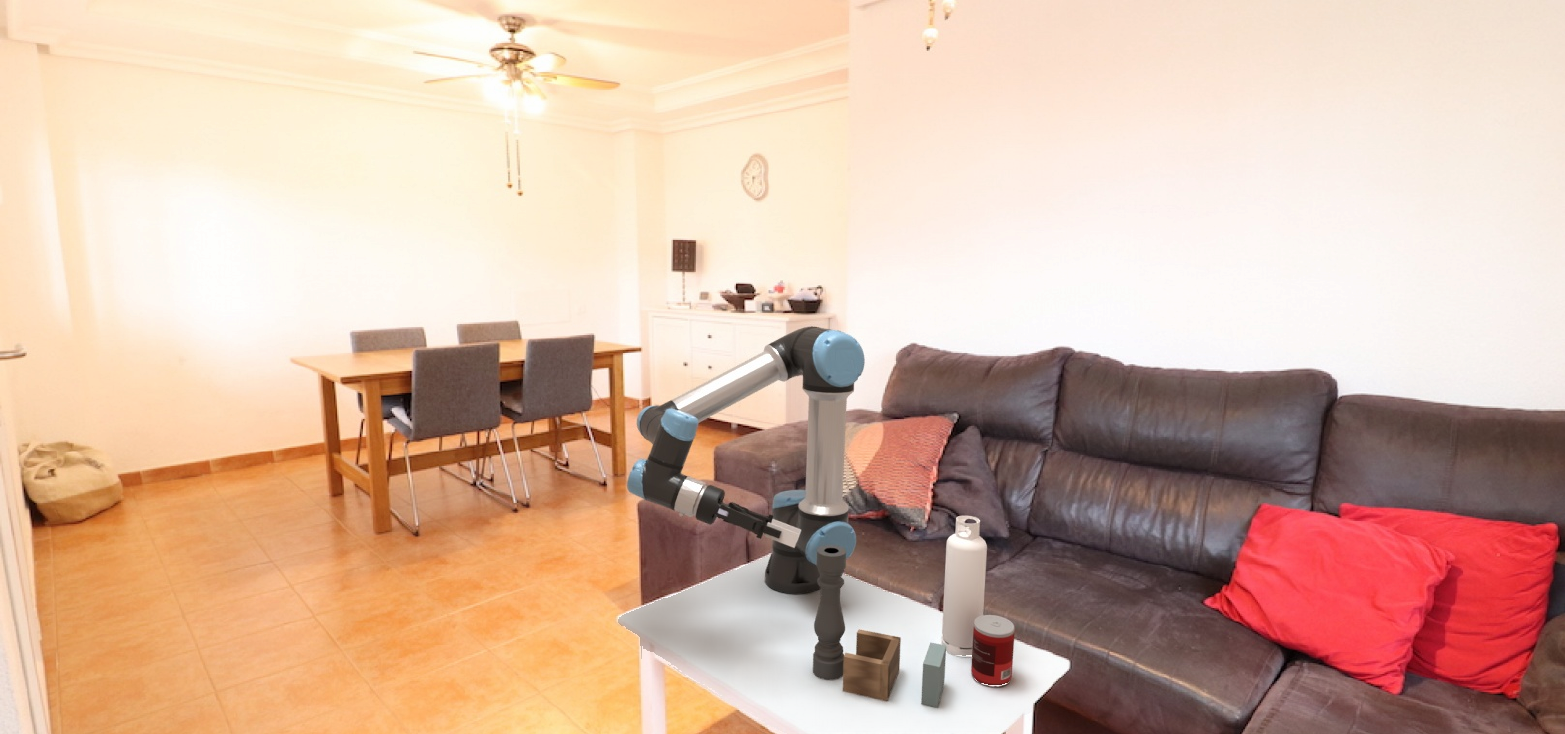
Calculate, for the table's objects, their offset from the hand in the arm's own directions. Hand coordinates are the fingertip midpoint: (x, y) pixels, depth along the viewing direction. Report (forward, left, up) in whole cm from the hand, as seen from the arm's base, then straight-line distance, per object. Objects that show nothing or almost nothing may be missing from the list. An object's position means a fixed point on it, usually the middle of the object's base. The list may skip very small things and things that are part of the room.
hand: (798, 538), depth 149 cm
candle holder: (+2, +9, -25) cm, 26 cm away
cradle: (0, +17, -24) cm, 30 cm away
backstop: (-3, +29, -24) cm, 38 cm away
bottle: (-22, +27, -25) cm, 43 cm away
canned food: (-15, +36, -25) cm, 46 cm away
